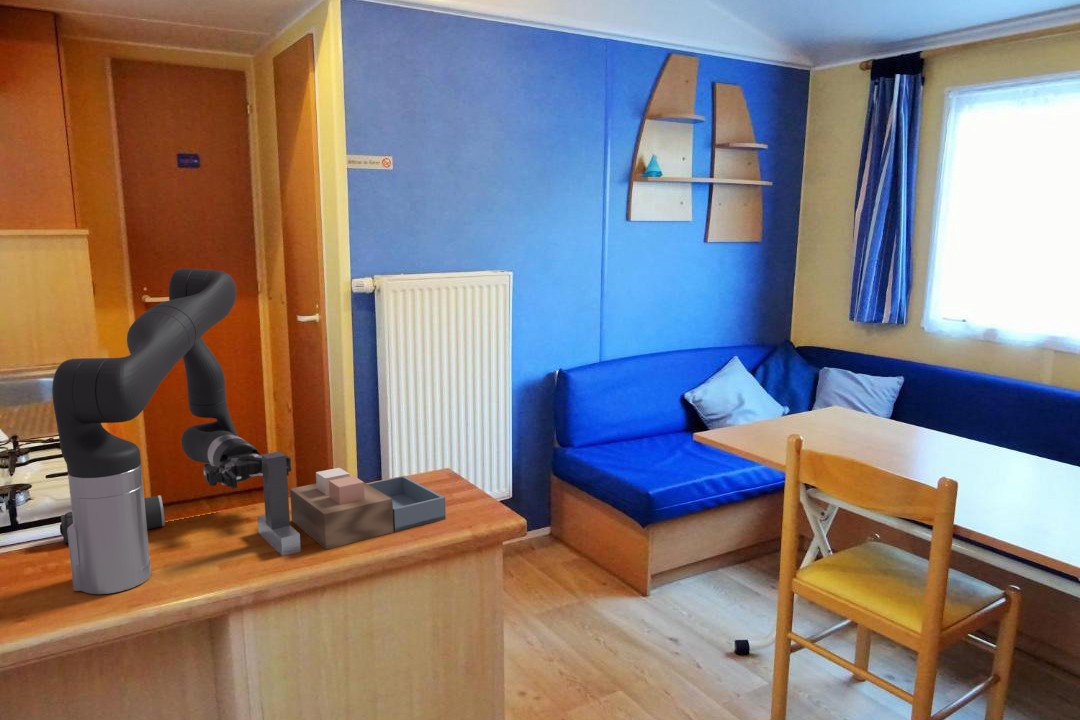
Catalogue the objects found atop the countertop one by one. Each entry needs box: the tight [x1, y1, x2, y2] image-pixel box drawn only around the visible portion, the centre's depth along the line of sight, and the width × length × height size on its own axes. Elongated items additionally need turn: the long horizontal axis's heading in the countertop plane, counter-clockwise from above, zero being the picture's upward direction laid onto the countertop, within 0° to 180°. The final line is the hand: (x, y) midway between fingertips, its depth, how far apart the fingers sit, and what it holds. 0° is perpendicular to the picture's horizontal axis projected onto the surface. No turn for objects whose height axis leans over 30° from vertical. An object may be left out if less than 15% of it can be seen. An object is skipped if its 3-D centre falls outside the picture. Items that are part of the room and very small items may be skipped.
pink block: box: [329, 475, 365, 504], centre depth 129 cm, size 4×4×3 cm
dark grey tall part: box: [257, 451, 302, 557], centre depth 125 cm, size 3×12×15 cm, turn 37°
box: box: [367, 475, 447, 532], centre depth 139 cm, size 10×16×4 cm, turn 37°
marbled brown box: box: [289, 475, 395, 550], centre depth 132 cm, size 12×16×6 cm
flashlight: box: [59, 495, 166, 544], centre depth 130 cm, size 15×5×5 cm, turn 123°
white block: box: [315, 467, 351, 495], centre depth 134 cm, size 4×4×3 cm
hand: (260, 478), depth 131 cm, fingers open, 8 cm apart
